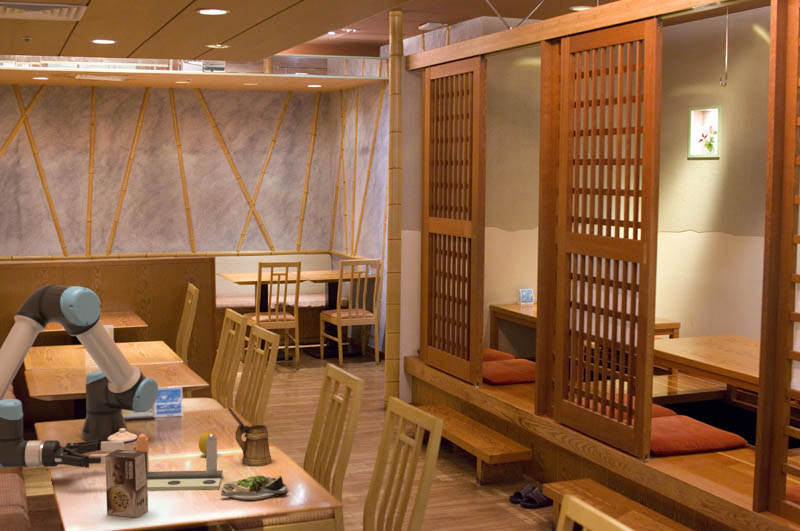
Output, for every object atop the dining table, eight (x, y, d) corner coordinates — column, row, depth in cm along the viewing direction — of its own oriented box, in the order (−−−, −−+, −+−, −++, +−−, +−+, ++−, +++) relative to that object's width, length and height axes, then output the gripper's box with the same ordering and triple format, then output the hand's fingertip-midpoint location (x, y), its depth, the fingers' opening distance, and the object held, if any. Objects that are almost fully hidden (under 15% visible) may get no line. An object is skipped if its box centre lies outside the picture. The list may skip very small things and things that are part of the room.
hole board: (134, 483, 279) (134, 479, 278) (221, 481, 281) (221, 478, 281) (129, 490, 272) (129, 487, 272) (218, 489, 274) (218, 485, 274)
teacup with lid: (138, 469, 292) (137, 431, 291) (107, 471, 290) (106, 433, 289) (138, 458, 304) (137, 422, 303) (108, 460, 301) (107, 423, 300)
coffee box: (149, 510, 256) (148, 451, 255) (136, 518, 250) (135, 457, 248) (118, 507, 258) (117, 448, 257) (105, 515, 252) (104, 455, 251)
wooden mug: (226, 460, 303) (226, 404, 301) (269, 457, 306) (269, 401, 305) (229, 468, 294) (229, 410, 292) (273, 464, 298) (273, 408, 296)
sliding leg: (139, 470, 283) (138, 432, 282) (148, 470, 283) (148, 432, 282) (137, 473, 280) (136, 435, 279) (147, 473, 280) (146, 435, 279)
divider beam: (130, 478, 283) (129, 433, 282) (222, 476, 285) (222, 432, 284) (128, 481, 280) (127, 436, 279) (221, 480, 282) (221, 435, 281)
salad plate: (233, 509, 259) (233, 492, 258) (206, 491, 273) (206, 475, 273) (296, 495, 270) (296, 479, 269) (267, 479, 284) (267, 464, 284)
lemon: (195, 457, 305) (195, 432, 304) (204, 452, 310) (204, 428, 310) (211, 459, 303) (211, 434, 303) (219, 454, 309) (219, 430, 308)
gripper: (56, 454, 291) (127, 453, 293) (31, 479, 266) (109, 478, 268) (55, 429, 290) (127, 429, 292) (30, 453, 266) (108, 452, 267)
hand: (118, 452), depth 280 cm, fingers open, 13 cm apart
